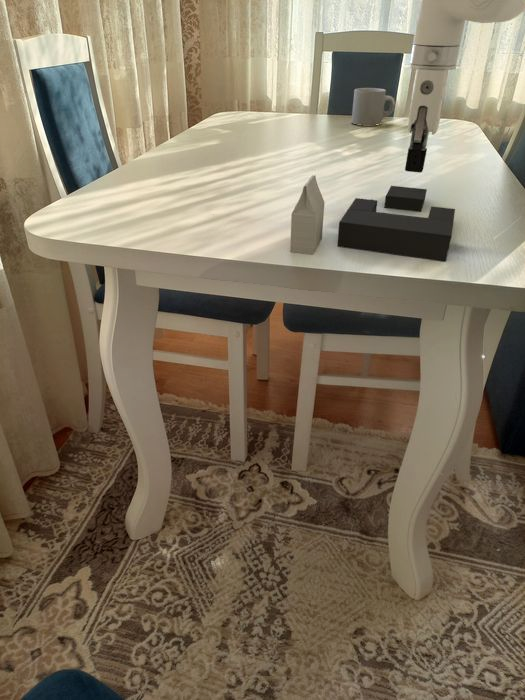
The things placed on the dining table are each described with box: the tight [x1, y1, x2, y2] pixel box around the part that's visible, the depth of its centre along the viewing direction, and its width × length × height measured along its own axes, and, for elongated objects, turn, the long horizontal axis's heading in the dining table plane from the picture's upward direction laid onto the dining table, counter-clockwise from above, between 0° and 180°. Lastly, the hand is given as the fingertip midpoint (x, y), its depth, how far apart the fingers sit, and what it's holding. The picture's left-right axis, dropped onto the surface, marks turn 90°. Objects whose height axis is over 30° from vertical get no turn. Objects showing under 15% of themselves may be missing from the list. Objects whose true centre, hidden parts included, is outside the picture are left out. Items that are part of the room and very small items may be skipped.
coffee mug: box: [350, 87, 396, 125], centre depth 160 cm, size 13×10×10 cm
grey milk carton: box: [289, 174, 326, 255], centre depth 75 cm, size 4×7×10 cm, turn 164°
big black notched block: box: [336, 197, 456, 262], centre depth 79 cm, size 16×13×4 cm
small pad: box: [383, 185, 428, 213], centre depth 89 cm, size 6×6×4 cm
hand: (413, 170), depth 93 cm, fingers closed
